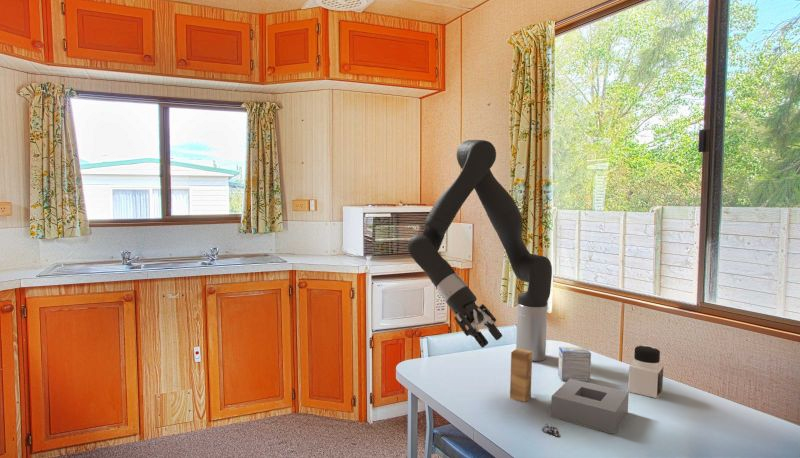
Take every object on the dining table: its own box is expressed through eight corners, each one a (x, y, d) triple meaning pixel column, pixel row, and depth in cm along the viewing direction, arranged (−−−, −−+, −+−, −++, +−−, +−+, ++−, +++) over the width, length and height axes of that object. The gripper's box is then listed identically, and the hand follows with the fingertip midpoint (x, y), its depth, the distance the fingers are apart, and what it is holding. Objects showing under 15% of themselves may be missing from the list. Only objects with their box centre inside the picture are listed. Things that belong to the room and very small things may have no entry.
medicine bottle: (657, 399, 126) (659, 353, 125) (627, 392, 130) (629, 347, 129) (662, 390, 131) (664, 347, 131) (633, 384, 136) (635, 341, 135)
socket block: (569, 397, 126) (570, 378, 126) (627, 412, 118) (628, 391, 117) (550, 416, 115) (551, 395, 114) (614, 434, 106) (615, 412, 106)
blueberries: (554, 425, 112) (554, 417, 112) (578, 438, 105) (578, 429, 105) (529, 429, 110) (529, 421, 110) (552, 443, 102) (552, 434, 102)
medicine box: (585, 376, 141) (586, 347, 140) (590, 382, 136) (591, 352, 136) (557, 375, 142) (558, 346, 141) (561, 381, 137) (562, 351, 137)
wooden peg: (516, 393, 128) (517, 348, 127) (530, 397, 126) (532, 351, 125) (509, 398, 125) (511, 352, 124) (524, 402, 122) (526, 355, 122)
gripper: (451, 288, 128) (490, 340, 122) (477, 281, 139) (513, 328, 133) (434, 305, 131) (471, 356, 125) (460, 297, 143) (495, 343, 137)
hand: (492, 341), depth 129 cm, fingers open, 8 cm apart
